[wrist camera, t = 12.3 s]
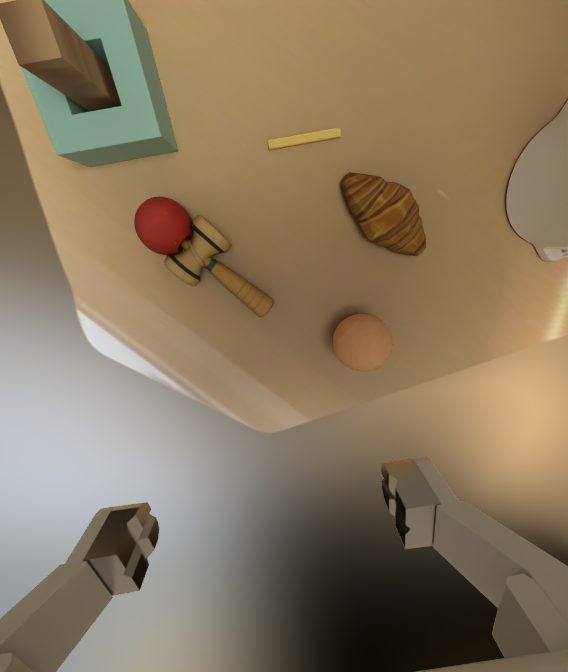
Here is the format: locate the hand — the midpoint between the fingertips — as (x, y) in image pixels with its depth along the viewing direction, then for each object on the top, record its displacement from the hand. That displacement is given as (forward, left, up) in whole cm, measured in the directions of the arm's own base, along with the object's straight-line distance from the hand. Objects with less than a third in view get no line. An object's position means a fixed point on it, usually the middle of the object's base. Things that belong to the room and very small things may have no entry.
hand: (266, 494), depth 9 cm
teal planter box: (+12, -23, -29) cm, 39 cm away
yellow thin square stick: (-7, -17, -29) cm, 34 cm away
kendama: (+6, -6, -30) cm, 31 cm away
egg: (-11, +7, -29) cm, 32 cm away
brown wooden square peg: (+12, -23, -29) cm, 39 cm away
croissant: (-16, -8, -30) cm, 34 cm away
